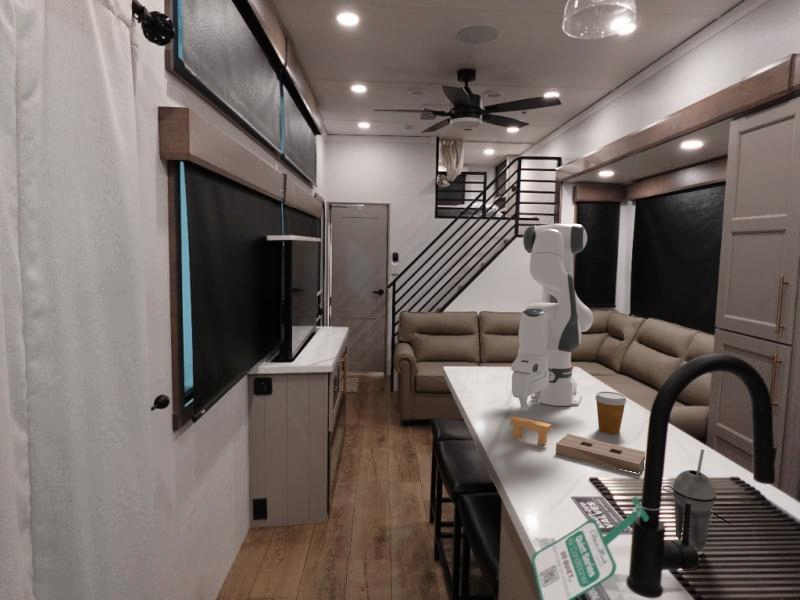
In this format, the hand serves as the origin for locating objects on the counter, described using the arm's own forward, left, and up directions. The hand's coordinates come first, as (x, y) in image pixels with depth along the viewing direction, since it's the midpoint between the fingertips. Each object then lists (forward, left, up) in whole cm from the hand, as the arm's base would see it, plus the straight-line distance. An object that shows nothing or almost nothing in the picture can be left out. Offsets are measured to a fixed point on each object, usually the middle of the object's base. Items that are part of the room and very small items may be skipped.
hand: (530, 406), depth 148 cm
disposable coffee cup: (-25, +17, -11) cm, 33 cm away
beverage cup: (+34, +47, -11) cm, 59 cm away
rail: (0, +21, -11) cm, 24 cm away
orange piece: (0, 0, -11) cm, 11 cm away
